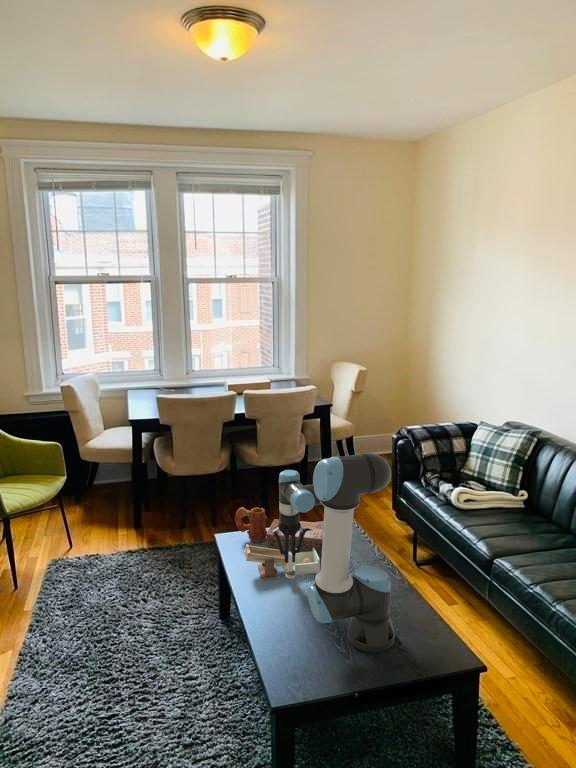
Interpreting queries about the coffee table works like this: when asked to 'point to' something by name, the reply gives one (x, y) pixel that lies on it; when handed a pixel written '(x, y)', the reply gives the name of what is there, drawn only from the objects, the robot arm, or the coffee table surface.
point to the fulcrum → (268, 570)
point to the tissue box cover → (309, 541)
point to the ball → (306, 560)
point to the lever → (267, 557)
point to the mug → (252, 523)
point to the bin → (306, 568)
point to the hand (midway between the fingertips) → (289, 569)
